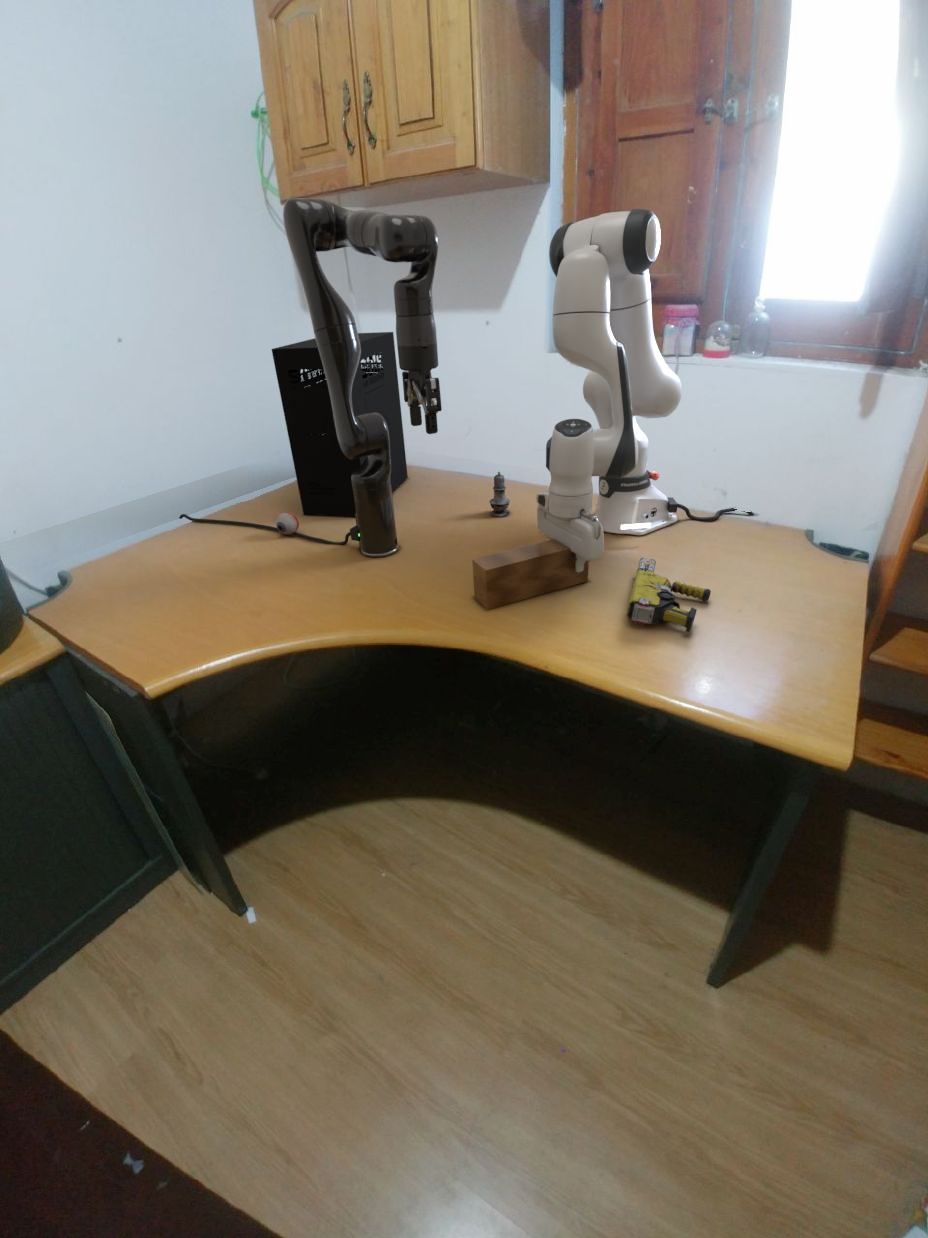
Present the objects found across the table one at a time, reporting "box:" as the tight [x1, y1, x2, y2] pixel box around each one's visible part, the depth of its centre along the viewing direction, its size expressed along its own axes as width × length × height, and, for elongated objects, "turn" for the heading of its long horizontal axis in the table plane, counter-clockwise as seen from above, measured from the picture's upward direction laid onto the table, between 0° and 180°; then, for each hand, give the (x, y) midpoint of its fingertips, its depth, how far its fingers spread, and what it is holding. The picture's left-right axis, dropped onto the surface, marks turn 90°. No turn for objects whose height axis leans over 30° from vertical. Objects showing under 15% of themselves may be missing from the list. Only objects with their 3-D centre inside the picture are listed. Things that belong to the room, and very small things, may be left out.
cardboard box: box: [271, 331, 409, 517], centre depth 180 cm, size 38×20×45 cm, turn 167°
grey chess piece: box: [488, 471, 511, 517], centre depth 168 cm, size 6×6×12 cm
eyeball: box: [275, 511, 300, 536], centre depth 163 cm, size 6×6×6 cm
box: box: [471, 538, 590, 610], centre depth 127 cm, size 25×6×9 cm, turn 115°
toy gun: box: [626, 557, 712, 633], centre depth 120 cm, size 5×24×15 cm
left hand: (424, 429), depth 122 cm, fingers open, 8 cm apart
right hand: (568, 564), depth 131 cm, fingers closed on box, 6 cm apart
